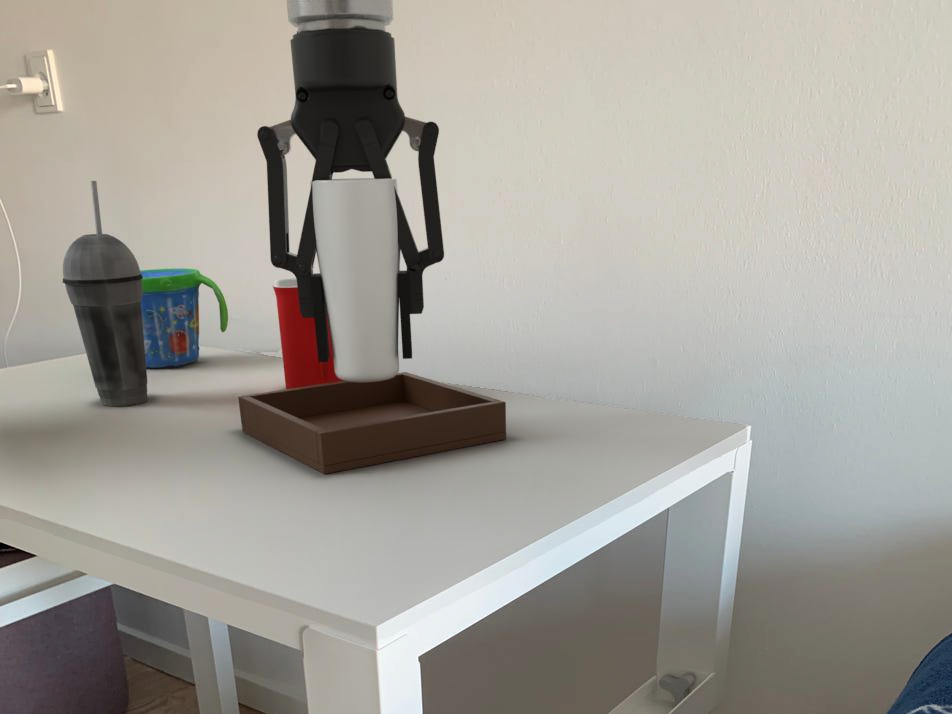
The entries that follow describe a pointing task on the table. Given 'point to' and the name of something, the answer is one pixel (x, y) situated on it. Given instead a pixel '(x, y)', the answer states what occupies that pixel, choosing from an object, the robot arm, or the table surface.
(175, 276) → the snack cup
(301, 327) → the mug
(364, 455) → the serving tray
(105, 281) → the beverage cup
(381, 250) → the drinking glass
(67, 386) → the table surface
